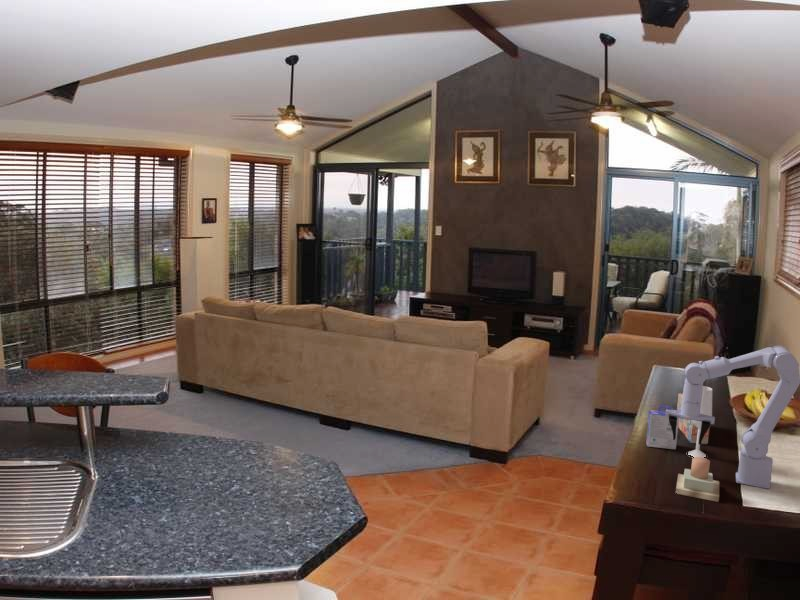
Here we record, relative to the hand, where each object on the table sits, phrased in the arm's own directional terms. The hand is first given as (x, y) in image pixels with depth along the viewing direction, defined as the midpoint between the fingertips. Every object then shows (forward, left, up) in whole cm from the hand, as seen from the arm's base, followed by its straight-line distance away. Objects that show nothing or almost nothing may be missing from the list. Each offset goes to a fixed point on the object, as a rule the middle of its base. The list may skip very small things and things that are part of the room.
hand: (687, 441), depth 235 cm
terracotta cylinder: (-5, +13, -6) cm, 15 cm away
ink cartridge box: (+8, -20, -11) cm, 24 cm away
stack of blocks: (-1, -39, -11) cm, 41 cm away
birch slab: (-5, +13, -11) cm, 18 cm away
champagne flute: (-4, -17, -11) cm, 21 cm away
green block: (-5, +13, -9) cm, 16 cm away
